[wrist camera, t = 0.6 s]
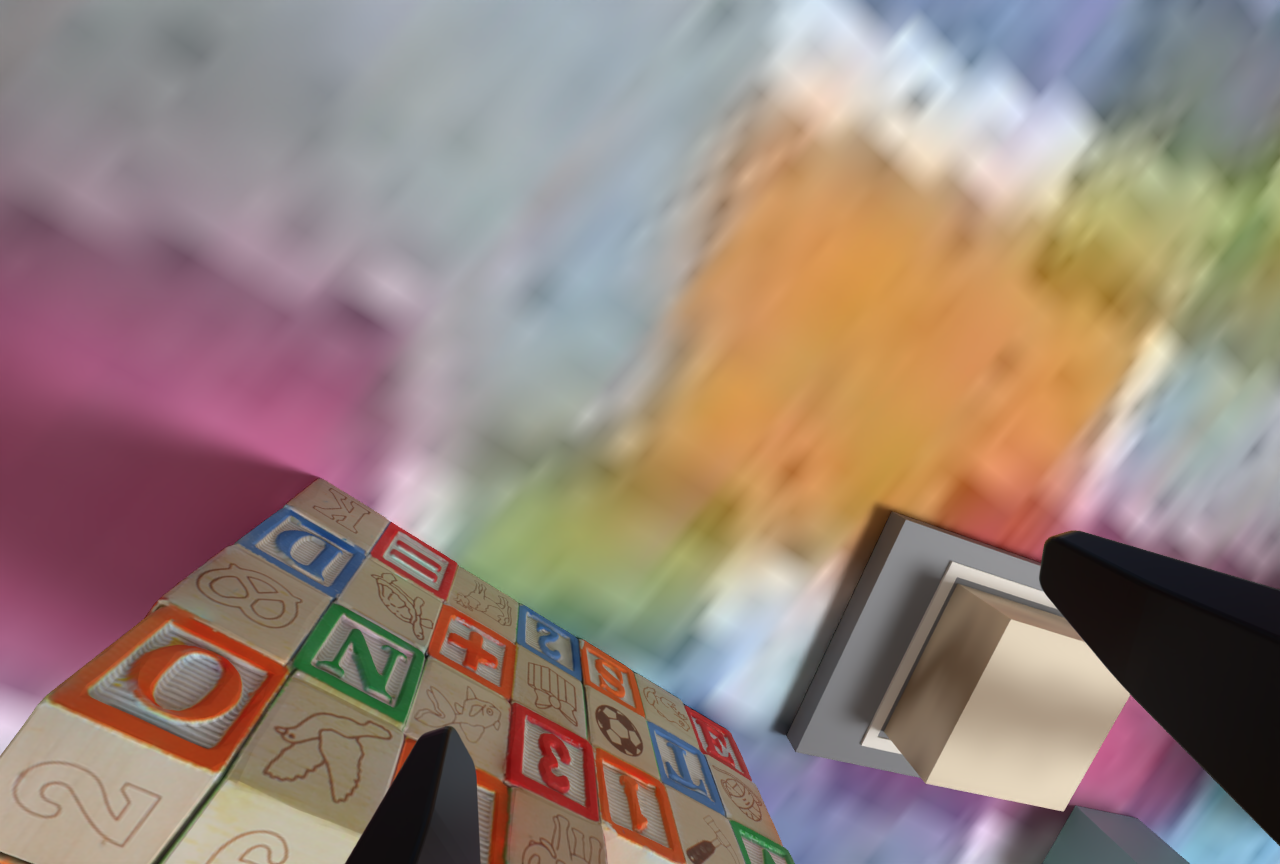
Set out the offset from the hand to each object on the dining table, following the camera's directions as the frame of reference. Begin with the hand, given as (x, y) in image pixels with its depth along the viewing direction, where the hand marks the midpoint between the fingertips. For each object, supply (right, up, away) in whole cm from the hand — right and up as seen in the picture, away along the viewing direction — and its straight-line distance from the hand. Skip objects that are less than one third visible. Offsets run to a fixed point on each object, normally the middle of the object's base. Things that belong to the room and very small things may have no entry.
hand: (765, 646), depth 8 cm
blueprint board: (+15, -9, +20) cm, 26 cm away
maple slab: (+15, -9, +19) cm, 26 cm away
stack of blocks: (-8, -7, +16) cm, 19 cm away
